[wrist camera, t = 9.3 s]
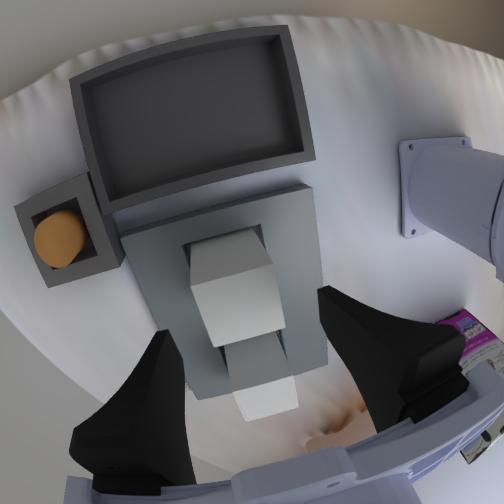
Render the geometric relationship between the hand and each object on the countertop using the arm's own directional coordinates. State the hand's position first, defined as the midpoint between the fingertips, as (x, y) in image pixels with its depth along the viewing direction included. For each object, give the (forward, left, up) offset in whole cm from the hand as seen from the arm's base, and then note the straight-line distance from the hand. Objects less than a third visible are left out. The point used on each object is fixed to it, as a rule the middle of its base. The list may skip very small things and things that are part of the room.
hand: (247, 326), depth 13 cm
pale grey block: (0, 0, -7) cm, 7 cm away
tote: (0, -10, -7) cm, 12 cm away
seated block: (0, +8, -7) cm, 11 cm away
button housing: (+10, -5, -7) cm, 13 cm away
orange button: (+10, -6, -6) cm, 12 cm away
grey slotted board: (0, +4, -7) cm, 8 cm away
